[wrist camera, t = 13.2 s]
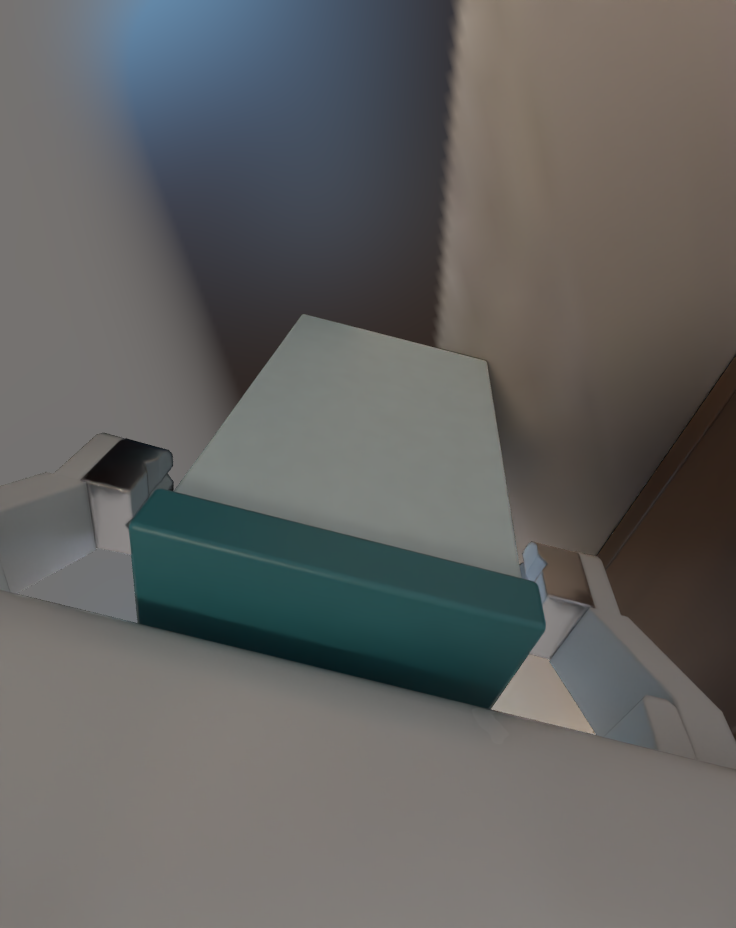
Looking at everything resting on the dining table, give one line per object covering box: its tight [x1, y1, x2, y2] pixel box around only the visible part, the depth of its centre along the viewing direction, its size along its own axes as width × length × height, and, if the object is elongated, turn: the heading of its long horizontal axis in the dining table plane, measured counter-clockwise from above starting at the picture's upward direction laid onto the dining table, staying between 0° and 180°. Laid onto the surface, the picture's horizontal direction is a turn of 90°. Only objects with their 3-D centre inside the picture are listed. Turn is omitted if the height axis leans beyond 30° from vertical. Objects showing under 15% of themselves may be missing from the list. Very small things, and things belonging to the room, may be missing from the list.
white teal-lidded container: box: [129, 314, 546, 709], centre depth 11 cm, size 6×5×8 cm
